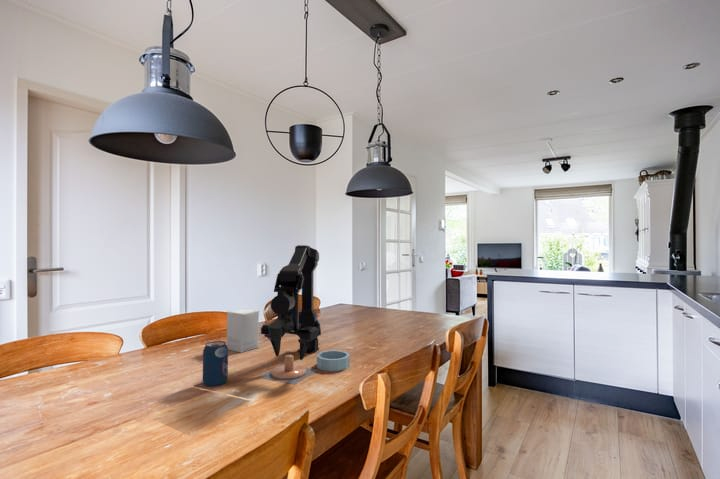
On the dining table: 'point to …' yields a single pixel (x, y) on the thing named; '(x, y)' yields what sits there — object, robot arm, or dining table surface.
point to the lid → (288, 370)
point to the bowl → (333, 360)
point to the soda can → (215, 363)
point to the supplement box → (242, 330)
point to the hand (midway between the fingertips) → (289, 357)
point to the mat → (290, 381)
